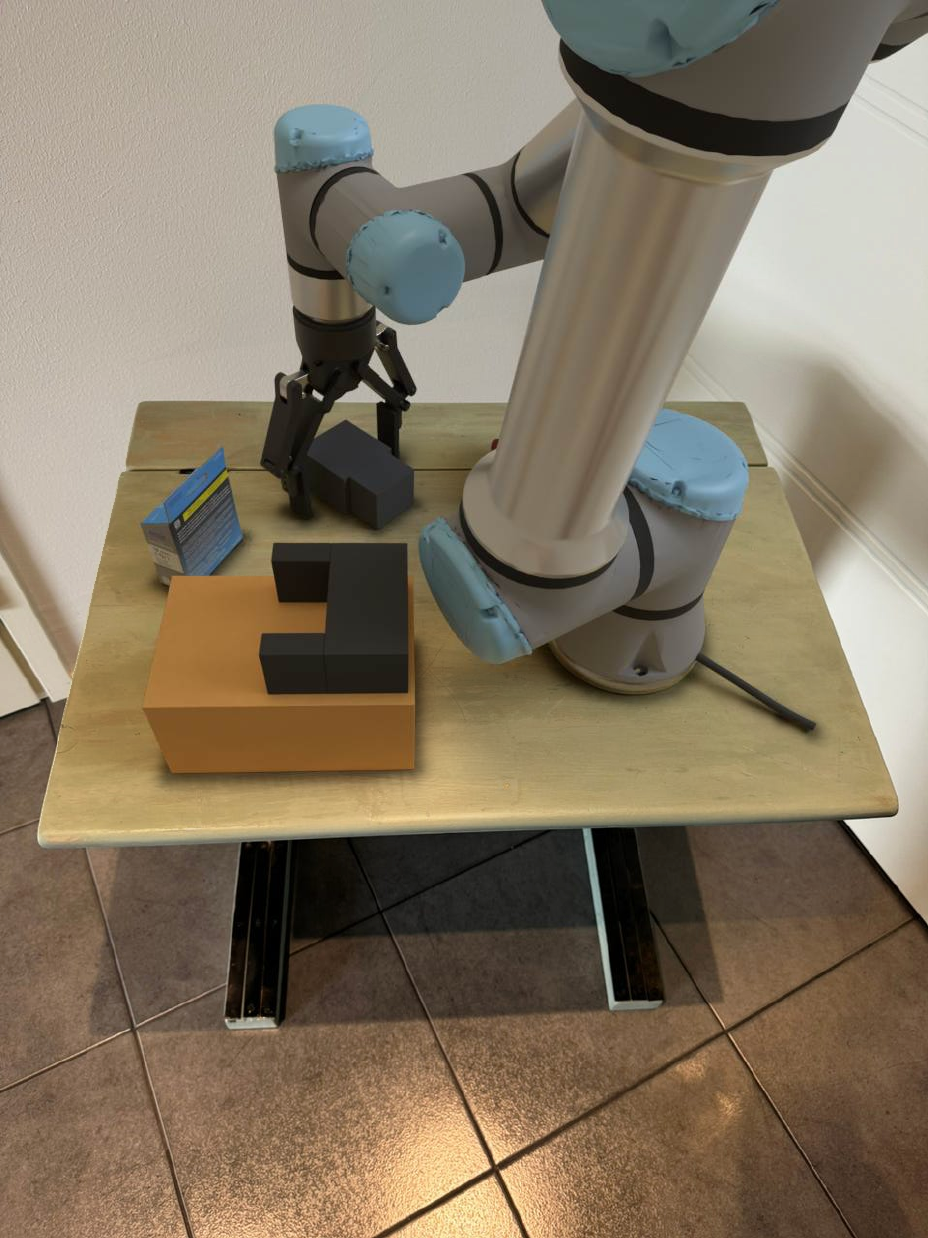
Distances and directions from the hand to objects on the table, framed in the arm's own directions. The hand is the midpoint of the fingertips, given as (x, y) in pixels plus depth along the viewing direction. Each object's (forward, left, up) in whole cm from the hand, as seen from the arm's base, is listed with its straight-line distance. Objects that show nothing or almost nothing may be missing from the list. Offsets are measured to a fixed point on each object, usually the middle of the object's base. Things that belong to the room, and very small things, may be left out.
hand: (346, 482), depth 92 cm
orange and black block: (-18, +23, 0) cm, 29 cm away
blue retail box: (+2, +18, 0) cm, 18 cm away
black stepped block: (-2, 0, 0) cm, 2 cm away
